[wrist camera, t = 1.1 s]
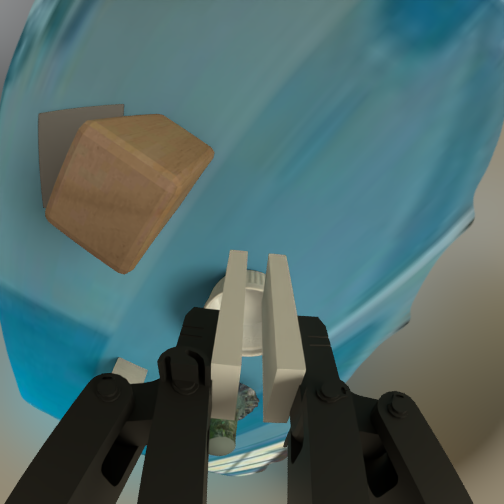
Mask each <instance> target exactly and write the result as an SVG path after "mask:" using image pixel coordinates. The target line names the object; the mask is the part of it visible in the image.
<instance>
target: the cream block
mask: <svg viewBox="0 0 504 504" xmlns="http://www.w3.org/2000/svg"><path fill="white" fill-rule="evenodd" d="M147 371H148V370H146V369H144V368H141V367H139V366H137V365H135V364H133V363H131V362H128V361H126V360H124V359H122V358H120V357H119V358H118V360H117V362H116V364H115V367H114V369H113V371H112V373H114V374H119V375H121V376H123V377H124V378H126V379H127V380H128V382H129V383H130V384H134V383H144V380H145V377H146V374H147Z"/></svg>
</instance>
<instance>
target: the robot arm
mask: <svg viewBox="0 0 504 504" xmlns="http://www.w3.org/2000/svg"><path fill="white" fill-rule="evenodd" d="M247 255H248V252H247V251H237V250H230V254H229V260H228V265H227V271H226V277H225V282H224V288H223V294H222V300H221V306H220V310H216V309H207V308H198V307H194V308H193V309H192V310H191V311H190V312H188V313H187V314H186V316H185V319H184V322H183V327H182V329H181V332H180V336H179V339H178V342H177V346H176V347H173V348H170V349H168V350H166V351H165V352H164V353H162V354H161V355H160V357H159V359H158V361H157V363H158V369H159V375H160V379H157V380H155V381H152V382H146V383H134V384H130V383H129V382H128V380H127V379H126V378H124V377H123V376H121V375H119V374H114V373H104V374H101V375H98V376H96V377H94V378H93V379H92V380H91V381H90V382H89V383H88V384H87V385H86V387H85V388H84V389H83V391H82V392H81V393H80V395H79V396H78V397H77V399H76V400H75V401H74V403H73V404H72V405H71V407H70V408H69V410H68V411H67V412H66V414H65V415H64V416H63V418H62V419H61V421H60V422H59V424H58V425H57V426H56V428H55V429H54V430H53V432H52V433H51V435H50V436H49V438H48V439H47V440H46V442H45V443H44V445H43V446H42V447H41V449H40V450H39V452H38V453H37V455H36V456H35V458H34V459H33V461H32V462H31V463H30V465H29V467H28V468H27V470H26V471H25V473H24V474H23V476H22V477H21V478H20V480H19V482H18V483H17V485H16V486H15V488H14V489H13V491H12V493H11V494H10V496H9V497H8V499H7V500H6V502H5V504H116V502H117V500H118V498H119V496H120V494H121V492H122V490H123V488H124V486H125V484H126V482H127V480H128V478H129V476H130V474H131V472H132V470H133V468H134V466H135V465H136V463H137V461H138V459H139V457H140V455H141V453H142V451H143V449H144V447H145V445H147V449H146V454H145V461H144V465H143V471H142V477H141V483H140V490H139V495H138V502H137V504H206V502H207V501H206V500H207V478H208V477H207V476H208V457H209V438H210V419H211V418H216V419H226V420H234V419H235V411H236V403H237V395H238V387H239V379H240V371H241V358H242V340H243V323H244V305H245V288H246V271H247ZM261 306H262V359H263V422H272V423H287V421H288V419H289V416H290V423H291V428H290V430H289V432H288V435H287V437H286V439H285V442H284V446H283V447H287V445H288V498H287V499H288V501H287V502H288V503H287V504H473V502H472V500H471V498H470V496H469V494H468V492H467V490H466V489H465V487H464V485H463V483H462V481H461V480H460V478H459V476H458V474H457V472H456V471H455V469H454V467H453V465H452V463H451V462H450V460H449V458H448V457H447V455H446V453H445V451H444V450H443V448H442V446H441V445H440V443H439V441H438V439H437V438H436V436H435V435H434V433H433V432H432V429H431V428H430V426H429V425H428V423H427V421H426V420H425V418H424V416H423V415H422V413H421V412H420V410H419V408H418V407H417V405H416V404H415V402H414V401H413V400H412V399H411V398H410V397H409V396H407V395H406V394H404V393H401V392H397V391H392V392H387V393H385V394H383V395H382V396H381V398H380V399H379V400H377V399H372V398H367V397H363V396H359V395H357V394H354V393H352V392H351V391H350V389H349V387H348V386H347V385H346V384H345V383H344V382H343V381H341V380H340V378H339V375H338V371H337V367H336V363H335V360H334V356H333V352H332V348H331V347H330V341H329V338H328V333H327V330H326V326H325V325H324V324H323V323H322V321H321V320H320V319H319V318H318V317H310V316H297V312H296V307H295V301H294V295H293V290H292V284H291V279H290V273H289V268H288V263H287V258H286V255H278V254H269V256H268V263H267V270H266V277H265V284H264V291H263V297H262V304H261Z"/></svg>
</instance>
